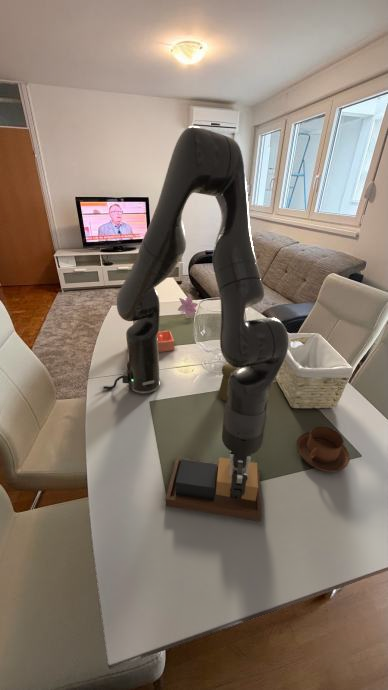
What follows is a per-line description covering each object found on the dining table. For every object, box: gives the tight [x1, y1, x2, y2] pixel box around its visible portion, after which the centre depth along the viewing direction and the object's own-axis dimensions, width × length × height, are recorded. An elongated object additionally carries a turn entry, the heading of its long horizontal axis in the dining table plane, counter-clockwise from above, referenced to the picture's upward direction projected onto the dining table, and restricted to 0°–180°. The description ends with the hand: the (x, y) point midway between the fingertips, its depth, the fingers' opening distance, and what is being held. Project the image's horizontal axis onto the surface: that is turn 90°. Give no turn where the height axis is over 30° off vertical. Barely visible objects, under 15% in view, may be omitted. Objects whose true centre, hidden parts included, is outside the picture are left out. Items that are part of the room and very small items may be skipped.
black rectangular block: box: [176, 458, 218, 501], centre depth 64 cm, size 8×6×4 cm
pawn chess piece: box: [218, 362, 238, 402], centre depth 91 cm, size 6×6×11 cm
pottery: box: [158, 330, 175, 353], centre depth 119 cm, size 18×10×10 cm, turn 104°
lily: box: [177, 293, 199, 320], centre depth 150 cm, size 12×12×10 cm
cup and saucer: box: [296, 425, 350, 473], centre depth 72 cm, size 12×12×6 cm
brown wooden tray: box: [165, 457, 262, 522], centre depth 64 cm, size 19×11×2 cm, turn 81°
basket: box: [275, 332, 354, 409], centre depth 95 cm, size 24×16×15 cm
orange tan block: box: [216, 457, 258, 501], centre depth 62 cm, size 8×6×4 cm
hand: (236, 482), depth 62 cm, fingers closed on orange tan block, 6 cm apart
